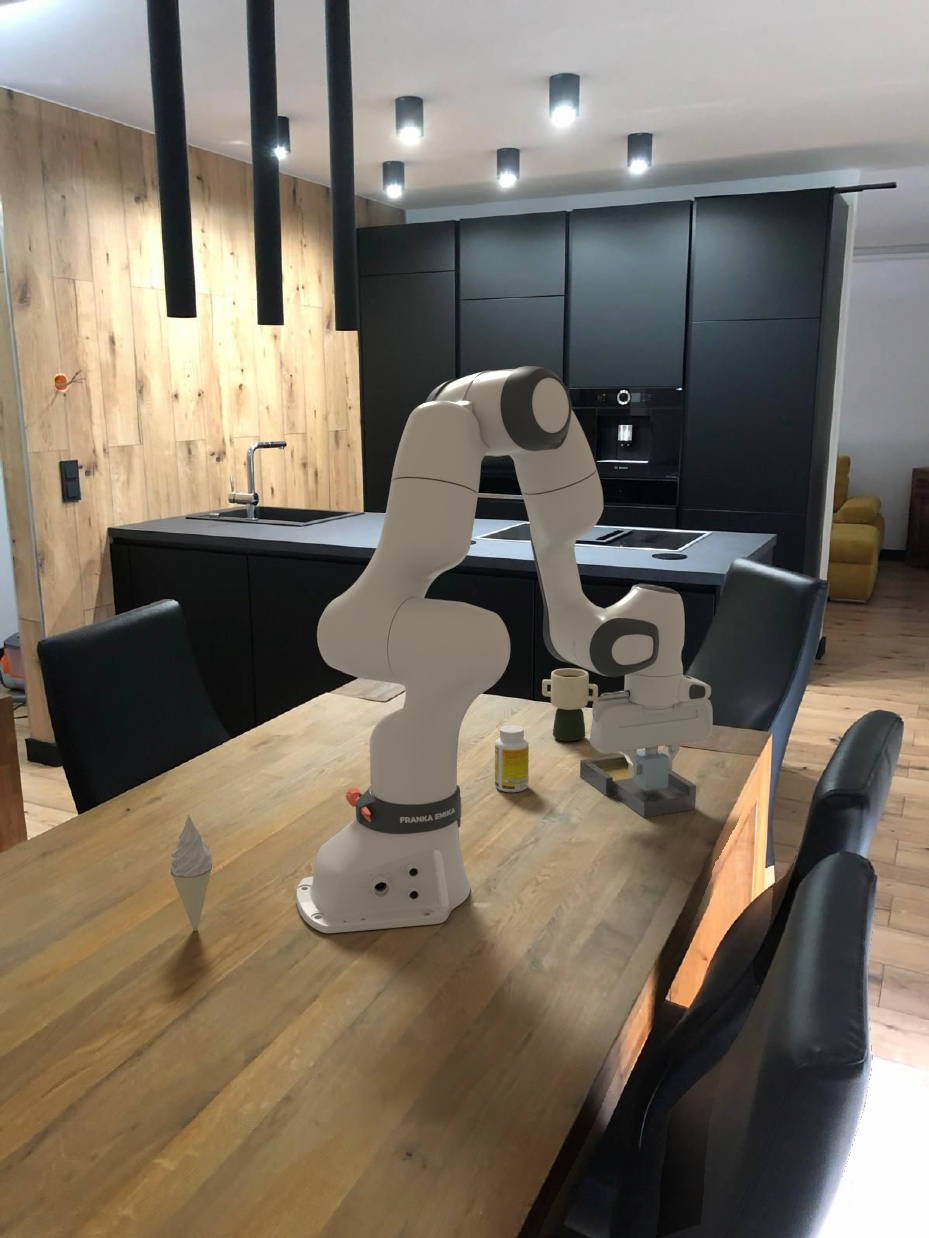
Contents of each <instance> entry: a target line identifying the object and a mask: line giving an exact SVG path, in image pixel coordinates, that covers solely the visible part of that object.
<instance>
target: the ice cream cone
mask: <svg viewBox="0 0 929 1238" xmlns="http://www.w3.org/2000/svg"><path fill="white" fill-rule="evenodd" d="M178 839H179V841H178V844H177V845H176V846H175V847H174V849H175V850H174V851H172V853H171V854H170V856H171V857H172V858H173V859H172V860H171V862H170V866H171V868H169V875H171V877H172V880H173V881H174V886H175V887H176V890H177V892H178V895H179V898H180V900H181V903H182V905H183V907H184V908H183V909H184V910H185V913H186V915H187V918H188V920H189V923H190V926H191V928H192V930H193V931H194V932H197V931H198V929H199V925H200V919H201V916H202V912H203V908H204V903H205V899H206V894H207V891H208V885H209V880H210V876H211V874H212V873H211V872H212V870H213V868H214V866H213V865H214V863H213V861H214V860H213V854H212V851H211V848H210V845H208V844H207V843H206V842H204V841H203V839H202V834H201V833H200V831H198V829H197V828H196V826H195V824H194V822H193V820H192V819H191V816H190V814H187V816H186V821H185V824H184V827H183V829H182V832H181V833H180V834H179V835H178Z"/></svg>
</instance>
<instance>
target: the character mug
mask: <svg viewBox="0 0 929 1238" xmlns="http://www.w3.org/2000/svg"><path fill="white" fill-rule="evenodd" d="M550 673H551V674H550V679H543V680H542V681H541V682H542V683H541V684H542V685H541V687H542V688H541V693H542V696H544V697H550V702H551V705H552V706H553V707H554V708H557V709H556V711H555V715H554V722H553V729H552V736H553V737H554V738H556V739H558V740H560V741H565V742H571V741H576V740H580V739H583V738H584V737H586V725H585V717H584V715H585V714H584V712H583V711H584V710H583V709H584V708H586V707H587V705H588V703H589V702H594V701H595V700H596V699H597V698H598V697H599V696H598V695H599V687H598V685H597V684H595V683H589V682H590V681H589V679H590V678H589V677H590V675H589V672H588V670H585V669H581V668H568V667H567V668H558V669H554V670H553V671H551V672H550ZM548 685H550V691H548ZM589 690H592V695H589V694H590V693H589Z"/></svg>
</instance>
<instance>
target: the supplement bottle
mask: <svg viewBox="0 0 929 1238" xmlns="http://www.w3.org/2000/svg"><path fill="white" fill-rule="evenodd" d="M529 752H530V751H529V741H528V740H527V738H525V730H524V727H522V726H520V725H515V724H511V725H509V724H508V725H504V726H501V727H500V728H499V737H498V738H497V739H496V740H495V742H494V785H495V788H496V789H498V790H499V791H501V792H505V793H520V792H523V791H525V790H526V789H527V788H528V787H529V761H530V760H529Z"/></svg>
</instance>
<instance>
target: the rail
mask: <svg viewBox="0 0 929 1238" xmlns="http://www.w3.org/2000/svg"><path fill="white" fill-rule="evenodd" d="M633 757H634V755H633ZM579 761H580V762H579V765H580V766H579V777H580V778H581V779H583V780H584V782H586V783H587V784H589V785H590V786H592V787H593V788H594V789H596V790H597V791H599V793H601V794H603V795H604V796H613V797H615V798H616V799H617V800H619V801H620V802H622V804H624V805H626V807H628V808H630V809H631V810H632V811H633V812H635V813H636V814H637V815H639V814H640V815H639V816H640V817H642V818H644V819H647V818H651V817H657V815H658V816H663V815H662V814H664V815H669V814H668V813H670V814H674V812H676V813H680V812H679V811H682V812H688V811H693V810H692V809H694V810H696V801H697V800H696V799H697V797H696V796H697V784H696V783H693V782H692V781H690V780H689V779H687V778H685V777H684V776H682V775H680V774H679V773H677V772H676V771H674V770H673V769H672V770H669V772H668V787H665V788H658V789H651V790H644V789H643V788H641V787H640V786H638V785H637V784H636V783H634V782H633V776H632V775H631V774H629V771H628V765H629V763H628V762H627V760H626V758H625V756H624V755H623V753H621V754H614V755H608V756H600V757H593V758H586V759H580V760H579Z"/></svg>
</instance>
